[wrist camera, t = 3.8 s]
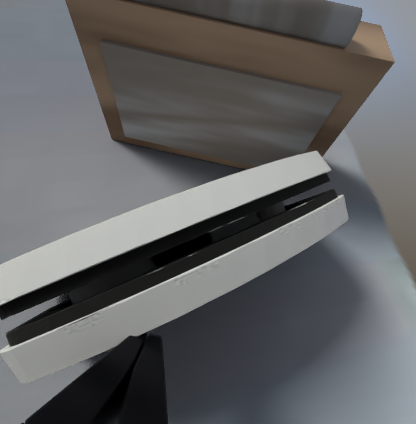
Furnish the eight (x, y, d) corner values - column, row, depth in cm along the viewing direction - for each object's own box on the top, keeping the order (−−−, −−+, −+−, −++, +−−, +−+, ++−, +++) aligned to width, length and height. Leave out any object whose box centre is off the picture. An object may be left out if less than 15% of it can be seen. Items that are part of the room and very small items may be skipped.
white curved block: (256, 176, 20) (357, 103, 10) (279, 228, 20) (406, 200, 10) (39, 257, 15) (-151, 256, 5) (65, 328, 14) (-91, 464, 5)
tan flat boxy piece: (302, 185, 20) (421, 31, 10) (110, 141, 20) (43, -51, 10) (302, 149, 22) (400, -6, 12) (128, 110, 22) (87, -75, 12)
